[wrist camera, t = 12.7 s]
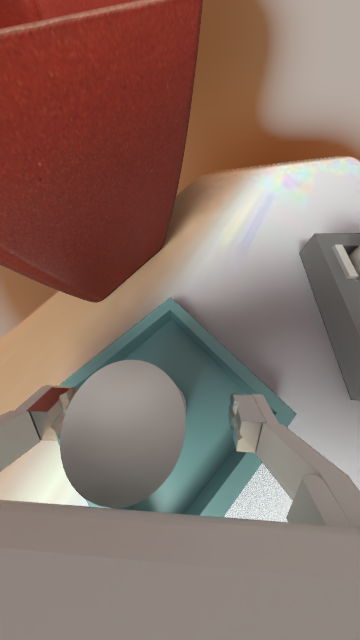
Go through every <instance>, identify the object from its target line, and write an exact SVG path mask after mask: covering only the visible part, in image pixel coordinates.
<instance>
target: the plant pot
mask: <svg viewBox="0 0 360 640" xmlns="http://www.w3.org/2000/svg"><path fill="white" fill-rule="evenodd" d="M202 1H203V0H0V265H2V266H4V267H6V268H9V269H11V270H13V271H15V272H17V273H19V274H22V275H24V276H26V277H28V278H30V279H33V280H35V281H37V282H40V283H42V284H44V285H47V286H49V287H52V288H54V289H57V290H59V291H61V292H64V293H67V294H69V295H72V296H75V297H78V298H80V299H83V300H87V301H90V302H99V301H101V300H103V299H104V298H105V297H106V296H108V295H109V294H110V293H111V292H112V291H113V290H114V289H115V288H117V287H118V286H119V285H120V284H121V283H122V282H123V281H125V280H126V279H127V278H128V277H129V276H130V275H131V274H133V273H134V272H135V271H136V270H137V269H138V268H139V267H141V266H142V265H143V264H144V263H145V262H146V261H147V260H149V259H150V258H151V257H152V256H153V255H154V254H155V253H156V252H158V251H159V250H160V249H161V248H162V246H163V243H164V240H165V237H166V234H167V230H168V227H169V223H170V219H171V215H172V211H173V207H174V202H175V198H176V193H177V188H178V183H179V178H180V173H181V167H182V161H183V156H184V150H185V143H186V137H187V130H188V123H189V116H190V109H191V101H192V93H193V84H194V77H195V68H196V61H197V53H198V43H199V34H200V24H201V14H202Z"/></svg>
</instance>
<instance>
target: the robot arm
mask: <svg viewBox="0 0 360 640" xmlns="http://www.w3.org/2000/svg"><path fill="white" fill-rule="evenodd" d="M76 392H77V390H76V388H75V387H68V386H50V385H46V386H43V387H42V388H40V389H39V390H38V391H37V392H36V393H35V394H33V395H32V396H31V397H30V398H29V399H28V400H26V401H25V402H24V403H23V404H22V405H21V406H19V407H18V408H17V409H16V410H15V411H10V412H7V413H5V414H3V415H1V416H0V472H1V471H2V470H4V469H5V468H6V467H7V466H9V465H10V464H11V463H13V462H14V461H15V460H17V459H18V458H19V457H21V456H22V455H23V454H24V453H26V452H27V451H28V450H30V449H31V448H32V447H34V446H35V445H36V444H38V443H39V442H40V440H51V441H58V440H59V439H60V436H61V428H62V424H63V420H64V417H65V414H66V411H67V409H68V406H69V404H70V402H71V400H72V399H73V397H74V395H75V393H76ZM230 402H231V405H230V406H229V410H228V417H229V423H230V427H231V428H232V429H233V440H234V444H235V448H236V451H240V452H251V453H256V455H257V456H258V458H259V459H260V460H261V461H262V463H263V464H264V465H265V466H266V468H267V469H268V470H269V471H270V473H271V474H272V475H273V476H274V478H275V479H276V480H277V481H278V483H279V484H280V485H281V486H282V488H283V489H284V490H285V491H286V493H287V494H288V495H289V496H290V498H291V499H292V500H293V502H292V505H291V507H290V510H289V512H288V515H287V517H286V518H287V520H288V522H276V521H264V520H251V519H238V518H226V517H213V516H200V515H188V514H175V513H162V512H150V511H137V510H124V509H112V508H99V507H86V506H73V505H61V504H48V503H35V502H22V501H10V500H0V640H360V491H359V490H358V488H357V487H356V485H355V484H354V483H353V481H352V480H351V479H350V477H349V476H348V475H347V474H345V473H344V472H343V471H341V470H340V469H339V468H338V467H336V466H335V465H334V464H333V463H331V462H330V461H329V460H327V459H326V458H325V457H324V456H322V455H321V454H320V453H319V452H317V451H316V450H315V449H313V448H312V447H311V446H310V445H308V444H307V443H306V442H305V441H303V440H302V439H301V438H300V437H298V436H297V435H296V434H294V433H293V432H292V431H291V430H289V429H288V428H287V427H286V426H284V425H283V424H279V423H278V421H277V419H276V417H275V415H274V414H273V412H272V410H271V408H270V406H269V405H268V403H267V401H266V399H265V397H264V396H263V395H262V394H232V393H231V395H230Z"/></svg>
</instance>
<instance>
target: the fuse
mask: <svg viewBox="0 0 360 640" xmlns="http://www.w3.org/2000/svg"><path fill="white" fill-rule="evenodd" d="M348 257H349V259H350V261H351V263H352V265H353V267H354V269H355V270H356V272H357V274H358V277H356V278H355V280H356V281H360V246H359V247H357V248H356V249H355V250H354V251H353V252H352V253H351V254H349V255H348Z"/></svg>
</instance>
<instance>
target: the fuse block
mask: <svg viewBox="0 0 360 640" xmlns="http://www.w3.org/2000/svg"><path fill="white" fill-rule="evenodd" d="M359 246H360V233H333V234H314V235H313V236H312V238H311V239H310V240H309V242H308V243H307V244H306V245H305V247H304V248H303V249H302V251H301V252H300V256H301V259H302V262H303V265H304V268H305V270H306V273H307V276H308V279H309V282H310V285H311V287H312V290H313V293H314V296H315V299H316V302H317V304H318V307H319V310H320V313H321V316H322V318H323V321H324V324H325V327H326V330H327V333H328V335H329V338H330V341H331V344H332V347H333V350H334V352H335V355H336V358H337V361H338V364H339V367H340V369H341V372H342V375H343V378H344V381H345V384H346V386H347V389H348V392H349V395H350V398H351V400H360V281H356V280H355V278H356V277H358V274H357V272H356V270H355V269H354V267H353V265H352V263H351V261H350V259H349V257H348V255H349V254H351V253H352V252H353V251H354V250H355V249H356V248H357V247H359Z"/></svg>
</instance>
